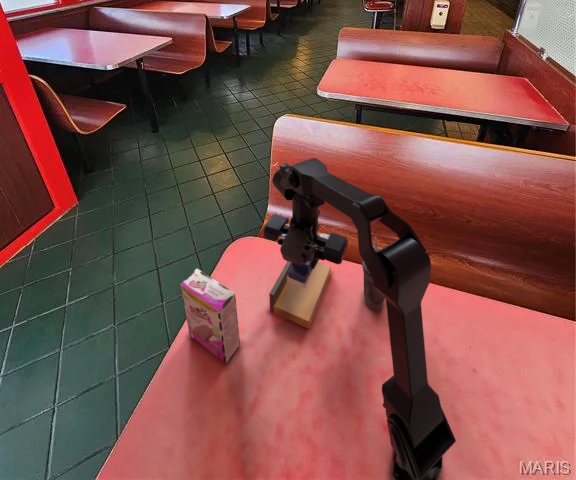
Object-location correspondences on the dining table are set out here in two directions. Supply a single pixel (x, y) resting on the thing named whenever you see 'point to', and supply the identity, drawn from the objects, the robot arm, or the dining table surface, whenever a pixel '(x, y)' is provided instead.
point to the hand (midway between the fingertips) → (304, 264)
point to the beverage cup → (371, 287)
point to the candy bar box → (211, 314)
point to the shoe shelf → (299, 295)
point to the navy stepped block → (300, 274)
